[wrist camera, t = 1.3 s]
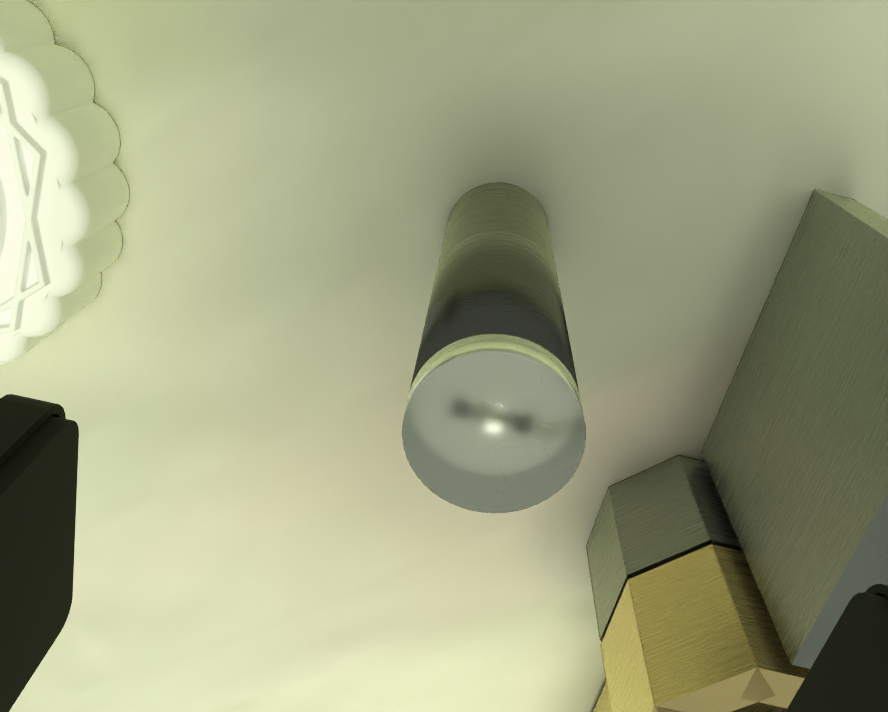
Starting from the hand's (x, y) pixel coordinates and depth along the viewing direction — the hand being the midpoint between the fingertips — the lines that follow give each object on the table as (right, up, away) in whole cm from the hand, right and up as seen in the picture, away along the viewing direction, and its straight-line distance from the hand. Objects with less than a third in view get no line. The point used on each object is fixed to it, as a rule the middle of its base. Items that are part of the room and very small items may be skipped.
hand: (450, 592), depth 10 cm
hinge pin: (+2, +6, +14) cm, 16 cm away
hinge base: (+9, +1, +17) cm, 19 cm away
